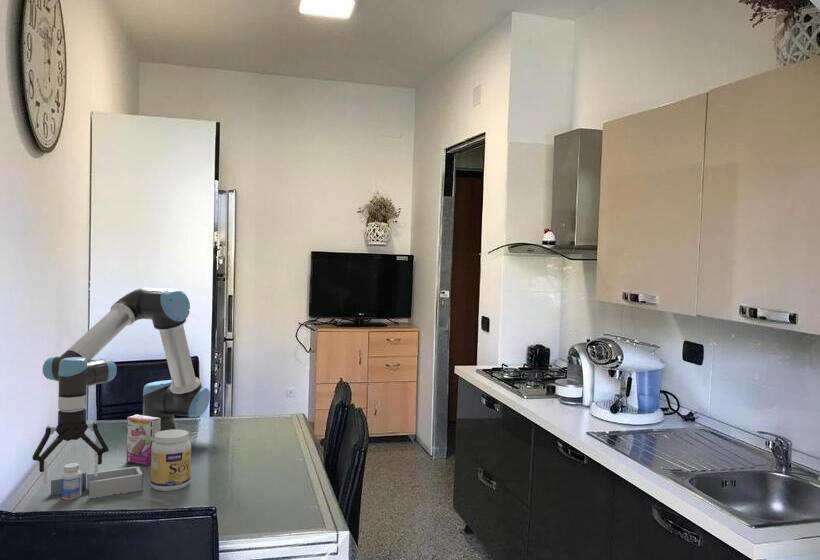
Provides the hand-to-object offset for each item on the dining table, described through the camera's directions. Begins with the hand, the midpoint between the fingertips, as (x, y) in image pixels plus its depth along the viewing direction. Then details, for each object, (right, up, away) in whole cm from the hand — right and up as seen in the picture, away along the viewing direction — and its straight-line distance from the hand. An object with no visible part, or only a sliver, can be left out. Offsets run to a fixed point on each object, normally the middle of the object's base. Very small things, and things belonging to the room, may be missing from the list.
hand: (70, 478), depth 190 cm
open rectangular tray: (+10, -6, +7) cm, 13 cm away
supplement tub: (+26, -6, +12) cm, 29 cm away
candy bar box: (+8, -5, +33) cm, 34 cm away
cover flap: (-3, -5, +4) cm, 7 cm away
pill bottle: (0, -6, +1) cm, 6 cm away
